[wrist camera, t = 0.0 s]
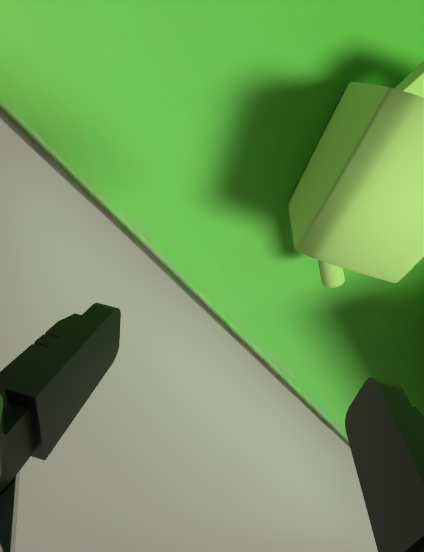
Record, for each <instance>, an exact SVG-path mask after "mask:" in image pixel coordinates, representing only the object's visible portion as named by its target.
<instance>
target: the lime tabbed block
mask: <svg viewBox="0 0 424 552" xmlns="http://www.w3.org/2000/svg"><path fill="white" fill-rule="evenodd" d="M288 206H289V215H290V222H291V229H292V236H293V242H294V248H295V250H297V251H299V252H301V253H303V254H306V255H308V256H310V257H313V258H315V259H318V262H319V268H320V275H321V281H322V284H323V285H324V286H325V287H329V288H334V287H338V286H340V285H342V284H343V283H344V281H345V277H344V271H343V268H345V269H348V270H351V271H354V272H357V273H361V274H364V275H368V276H371V277H375V278H378V279H382V280H385V281H389V282H392V283H396V282H399V281H400V280H401V279H402V278H403V277H404V276H405V275H406V274H407V273H408V272H409V271H410V270H411V269H412V268H413V267H414V266H415V265H416V264H417V263H418V262H419V261H420V260H421V259H422V258H423V257H424V62H423V63H422V64H420V65H419V66H418V67H417V68H416V69H415V70H414V71H413V72H412V73H411V74H409V75H408V76H407V77H406V78H405V79H404V80H403V81H402V82H401V83H400V84H399V85H397V86H396V87H395V88H391V87H387V86H382V85H376V84H369V83H360V82H350V83H349V85H348V86H347V88H346V90H345V92H344V94H343V96H342V98H341V100H340V102H339V104H338V106H337V108H336V110H335V112H334V114H333V116H332V118H331V120H330V122H329V124H328V126H327V128H326V130H325V132H324V134H323V136H322V138H321V140H320V142H319V144H318V146H317V148H316V150H315V152H314V154H313V156H312V158H311V160H310V162H309V164H308V166H307V168H306V170H305V172H304V174H303V176H302V178H301V180H300V182H299V184H298V186H297V188H296V190H295V192H294V194H293V196H292V198H291V200H290V203H289V205H288Z"/></svg>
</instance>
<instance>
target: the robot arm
mask: <svg viewBox="0 0 424 552" xmlns="http://www.w3.org/2000/svg"><path fill="white" fill-rule="evenodd" d="M120 315H121V313H120V309H118V308H115V307H111V306H107V305H103V304H99V303H95V304H93V305H92V306H91V307H90V308H89V309H88V310H87V311H86V312H85V313H84V314H83V315H78V314H73V315H71V316H69V317H67V318H65V319H62V320H60V321H58V322H57V323H56V324H55V325H54V326H53V327H51V328H50V329H49V330H48V331H47V332H46V334H45V335H42V336H41V337H40V338H39V339H37V340H36V341H35V343H34V345H33V344H32V345H31V346H29V347H28V348H27V349H26V350H25V351H24V352H23V353H21V354H20V355H19V356H18V357H17V358H16V359H14V360H13V361H12V362H11V363H10V364H9V365H8V366H6V367H5V368H4V369H3V370H2V371H1V372H0V552H15V537H16V521H17V506H18V505H17V504H18V491H19V490H18V489H19V475H20V474H19V471H20V469H21V468H22V466H23V465H24V464H25V462H26V461H27V460H28V458H29V457H30V456H33V457H36V458H39V459H42V460H46V458H47V457H48V455H49V454H50V453H51V451H52V450H53V448H54V447H55V445H56V444H57V442H58V441H59V440H60V438H61V437H62V435H63V434H64V432H65V431H66V429H67V428H68V426H69V425H70V424H71V422H72V421H73V419H74V418H75V417H76V415H77V413H78V412H79V411H80V409H81V408H82V406H83V405H84V404H85V402H86V401H87V399H88V398H89V396H90V395H91V393H92V392H93V390H94V389H95V388H96V386H97V385H98V383H99V382H100V380H101V379H102V378H103V376H104V375H105V373H106V372H107V370H108V369H109V368H110V366H111V365H112V363H113V361H114V359H115V357H116V355H117V352H118V348H119V339H120V338H119V337H120V317H121V316H120ZM345 428H346V433H347V437H348V440H349V444H350V448H351V451H352V455H353V459H354V463H355V466H356V470H357V474H358V478H359V481H360V485H361V489H362V492H363V496H364V500H365V504H366V508H367V511H368V515H369V519H370V522H371V526H372V530H373V534H374V538H375V541H376V545H377V549H378V552H424V416H423V415H422V414H421V413H420V412H419V411H418V410H417V409H416V408H415V407H412V406H411V404H410V402H409V400H408V398H407V396H406V395H405V393H404V391H403V389H402V388H401V387H400V386H399V385H397V384H394V383H391V382H387V381H383V380H379V379H376V378H368V379H367V380H366V381H365V383H364V384H363V386H362V388H361V389H360V391H359V392H358V394H357V396H356V397H355V399H354V401H353V402H352V404H351V405H350V407H349V409H348V411H347V414H346V419H345Z"/></svg>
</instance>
